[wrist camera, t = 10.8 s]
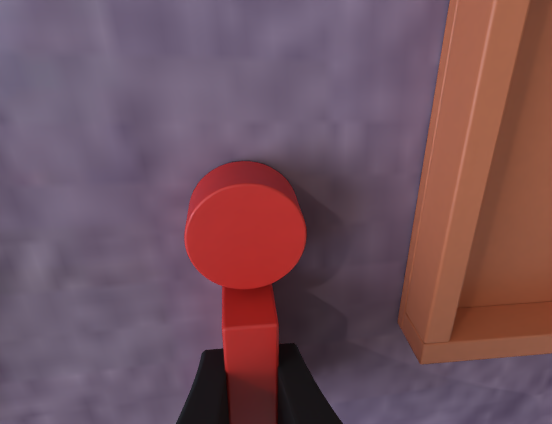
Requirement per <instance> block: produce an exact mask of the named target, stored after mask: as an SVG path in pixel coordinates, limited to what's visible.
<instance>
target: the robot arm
mask: <svg viewBox="0 0 552 424" xmlns="http://www.w3.org/2000/svg"><path fill="white" fill-rule="evenodd" d="M176 424H229V412H228V397H227V383H226V371H225V365H224V350H223V349H213V350H205V351H204V352H203V353H202V355H201V360H200V364H199V367H198V370H197V374H196V377H195V379H194V382H193V385H192V388H191V390H190V393H189V395H188V397H187V400H186V402H185V405H184V407H183V409H182V412H181V414H180V416H179V418H178V420H177V422H176ZM278 424H343V423H342V422H341V420H340V419H339V418H338V416H337V415H336V413H335V412H334V410H333V409H332V407H331V406H330V404H329V403H328V401H327V400H326V398H325V397H324V395H323V394H322V392H321V390H320V389H319V387H318V386H317V384H316V382H315V381H314V379H313V377H312V375H311V373H310V372H309V370H308V368H307V366H306V364H305V362H304V360H303V358H302V356H301V354H300V352H299V349H298V347H297V345H295V344H294V343H290V344H279V366H278Z"/></svg>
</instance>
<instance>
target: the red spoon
mask: <svg viewBox="0 0 552 424" xmlns="http://www.w3.org/2000/svg"><path fill="white" fill-rule="evenodd" d="M184 238H185V247H186V251H187V254H188V256H189V258H190V260H191V262H192V263H193V265H194V266H195V268H196V269H197V270H198V271H199V272H200V273H201V274H202V275H203V276H205V277H206V278H207V279H209V280H211V281H212V282H214V283H216V284H218V285H221V286H222V336H223V350H224V365H225V371H226V383H227V397H228V412H229V424H278V366H279V323H278V317H277V311H276V305H275V299H274V293H273V287H272V283H274V282H276V281H278V280H279V279H281V278H283V277H284V276H285V275H286V274H288V273H289V272H290V271H291V270H292V269H293V268H294V267H295V265H296V264H297V263H298V261H299V259H300V258H301V256H302V253H303V251H304V248H305V244H306V238H307V229H306V224H305V220H304V217H303V215H302V212H301V209H300V206H299V203H298V201H297V198H296V195H295V192H294V190H293V188H292V186H291V185H290V183H289V182H288V181H287V180H286V178H285V177H284V176H283V175H281V174H280V173H279V172H278V171H276V170H275V169H273V168H271V167H269V166H267V165H264V164H261V163H257V162H251V161H238V162H232V163H227V164H225V165H222V166H219V167H218V168H216V169H214V170H212V171H211V172H209V173H208V174H207V175H206V176H204V177H203V178H202V179H201V181H200V182H199V183H198V184H197V186H196V188H195V189H194V191H193V193H192V196H191V199H190V203H189V209H188V215H187V221H186V227H185V234H184Z"/></svg>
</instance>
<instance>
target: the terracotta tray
mask: <svg viewBox="0 0 552 424" xmlns="http://www.w3.org/2000/svg"><path fill="white" fill-rule="evenodd" d="M397 322H398V324H399V326H400V328H401V330H402V331H403V333H404V335H405V337H406V339H407V341H408V343H409V344H410V346H411V348H412V350H413V352H414V354H415V356H416V358H417V359H418V361H419V363H420V364H432V363H444V362H456V361H468V360H480V359H491V358H503V357H515V356H527V355H538V354H550V353H552V0H450V2H449V9H448V15H447V21H446V27H445V33H444V39H443V45H442V51H441V58H440V64H439V70H438V76H437V82H436V88H435V94H434V101H433V107H432V113H431V119H430V125H429V131H428V137H427V144H426V150H425V156H424V162H423V168H422V174H421V180H420V186H419V193H418V199H417V205H416V211H415V217H414V223H413V229H412V236H411V242H410V248H409V254H408V260H407V266H406V272H405V278H404V285H403V291H402V297H401V303H400V309H399V315H398V321H397Z"/></svg>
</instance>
